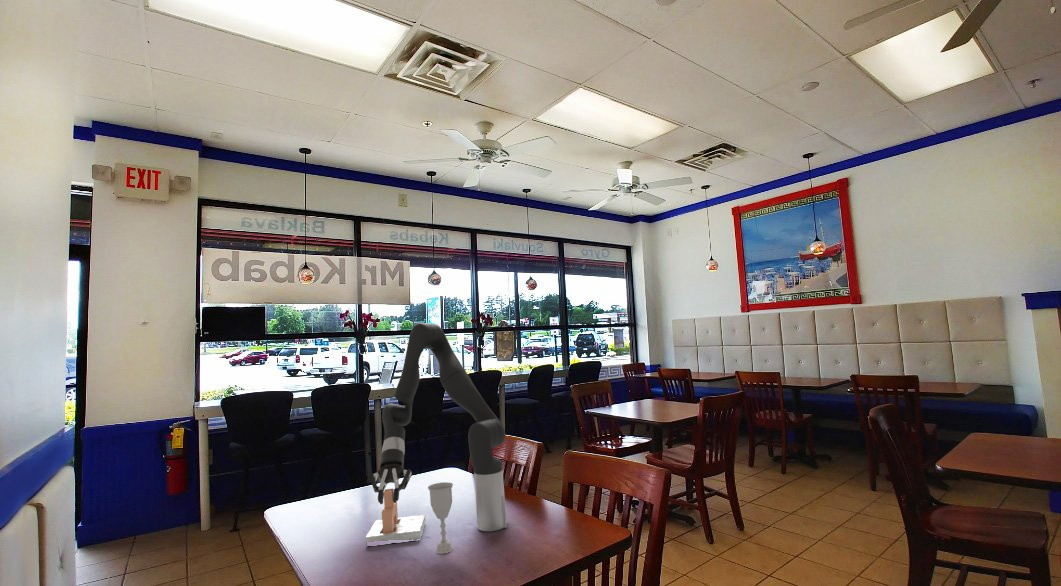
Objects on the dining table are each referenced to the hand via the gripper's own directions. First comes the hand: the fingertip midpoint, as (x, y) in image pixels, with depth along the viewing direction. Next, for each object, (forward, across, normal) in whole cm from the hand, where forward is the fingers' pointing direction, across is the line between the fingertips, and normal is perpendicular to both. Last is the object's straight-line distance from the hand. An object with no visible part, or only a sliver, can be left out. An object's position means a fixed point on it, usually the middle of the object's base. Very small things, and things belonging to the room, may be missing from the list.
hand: (387, 502), depth 155 cm
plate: (+6, +2, +9) cm, 11 cm away
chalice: (+18, +18, -2) cm, 25 cm away
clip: (+6, 0, +9) cm, 11 cm away
